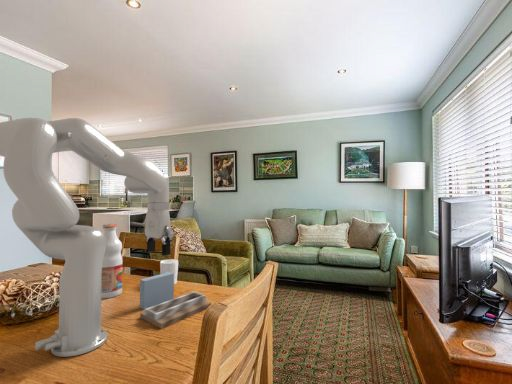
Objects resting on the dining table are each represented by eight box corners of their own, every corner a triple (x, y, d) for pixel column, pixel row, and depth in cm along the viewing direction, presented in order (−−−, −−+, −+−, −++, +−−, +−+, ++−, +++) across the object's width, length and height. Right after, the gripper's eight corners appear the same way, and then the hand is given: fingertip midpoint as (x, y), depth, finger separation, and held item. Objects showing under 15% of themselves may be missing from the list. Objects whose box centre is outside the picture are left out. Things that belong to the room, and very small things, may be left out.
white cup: (166, 287, 116) (166, 264, 116) (156, 283, 121) (156, 261, 121) (181, 282, 122) (181, 260, 123) (171, 279, 127) (171, 258, 127)
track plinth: (161, 328, 80) (161, 317, 80) (140, 317, 88) (140, 306, 88) (211, 306, 96) (211, 297, 96) (189, 298, 104) (189, 289, 104)
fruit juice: (94, 293, 109) (95, 224, 109) (120, 288, 114) (120, 223, 115) (96, 301, 101) (97, 226, 101) (124, 295, 107) (124, 225, 107)
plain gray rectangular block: (144, 310, 94) (144, 281, 94) (139, 307, 95) (140, 279, 96) (173, 299, 103) (173, 273, 103) (169, 297, 105) (169, 272, 105)
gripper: (136, 206, 102) (136, 251, 102) (163, 208, 92) (163, 258, 92) (154, 205, 108) (154, 248, 108) (181, 207, 97) (181, 254, 97)
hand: (158, 252), depth 100 cm, fingers open, 9 cm apart
